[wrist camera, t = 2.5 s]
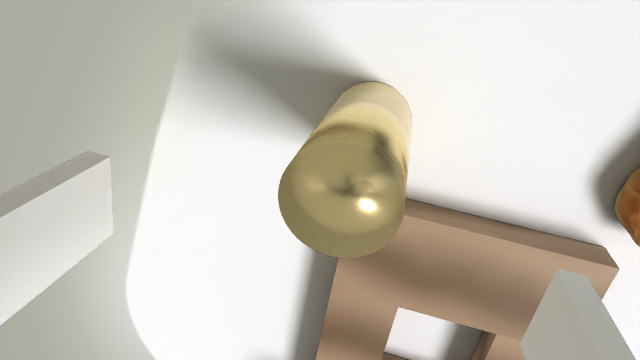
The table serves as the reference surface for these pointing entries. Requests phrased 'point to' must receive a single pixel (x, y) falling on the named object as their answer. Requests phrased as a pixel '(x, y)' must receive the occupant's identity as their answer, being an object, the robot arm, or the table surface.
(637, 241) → the pastry
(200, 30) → the table surface
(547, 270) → the jig
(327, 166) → the brass cylinder rod
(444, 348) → the table surface
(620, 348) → the robot arm
